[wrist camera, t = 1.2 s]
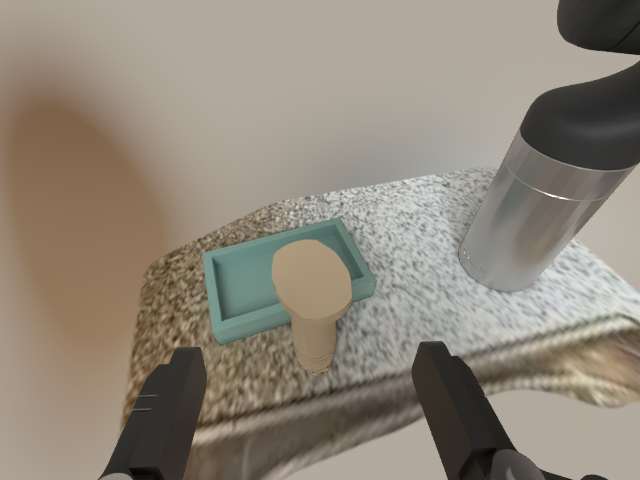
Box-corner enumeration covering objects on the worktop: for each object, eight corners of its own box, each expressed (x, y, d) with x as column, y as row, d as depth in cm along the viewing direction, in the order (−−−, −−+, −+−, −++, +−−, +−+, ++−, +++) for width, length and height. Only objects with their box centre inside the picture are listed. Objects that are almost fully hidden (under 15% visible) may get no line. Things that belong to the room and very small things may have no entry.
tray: (338, 232, 43) (339, 217, 41) (373, 295, 36) (376, 280, 34) (209, 267, 39) (202, 253, 37) (220, 345, 32) (212, 333, 30)
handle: (306, 403, 29) (294, 330, 18) (282, 343, 33) (260, 253, 21) (351, 380, 30) (367, 299, 19) (323, 325, 34) (322, 231, 23)
